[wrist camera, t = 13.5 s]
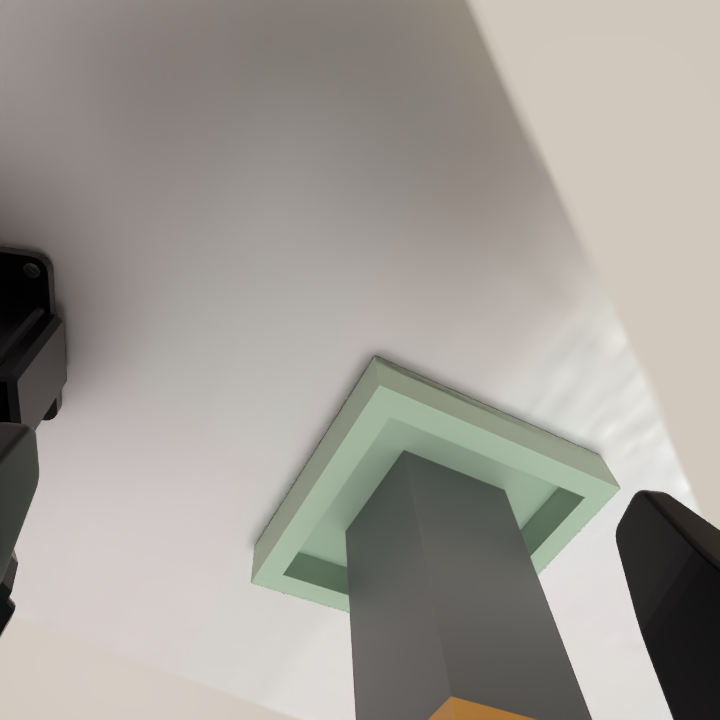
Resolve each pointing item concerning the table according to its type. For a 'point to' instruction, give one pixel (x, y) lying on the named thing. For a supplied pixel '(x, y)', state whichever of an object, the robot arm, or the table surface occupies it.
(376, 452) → the tray
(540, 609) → the grey tall block
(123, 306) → the table surface
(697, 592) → the robot arm
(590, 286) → the table surface
